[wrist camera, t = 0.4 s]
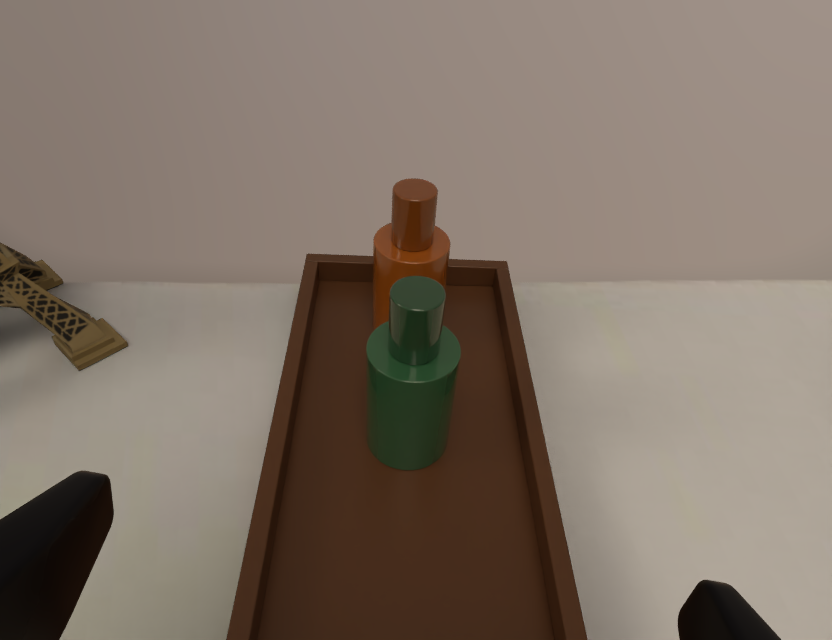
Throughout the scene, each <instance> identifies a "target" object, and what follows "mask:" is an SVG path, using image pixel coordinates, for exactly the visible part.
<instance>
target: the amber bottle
mask: <svg viewBox="0 0 832 640" xmlns="http://www.w3.org/2000/svg"><path fill="white" fill-rule="evenodd" d="M437 194H438V190H437V188H436V187H435V185H434V184H432V183H431V182H429V181H426V180H422V179H405V180H401V181H399V182H397V183H396V184H395V185H394V187H393V196H392V223H389V224H387V225H385V226H383V227H382V228H381V229H379V230H378V231H377V233H376V234H375V236H374V247H373V330H375V329H376V328H377V327H378V326H380V325H381V324H383V323H385V322H387V321H389V294H390V289H391V287H392V285H393V284H394V283H395V282H396V281H397V280H399V279H401V278H404V277H407V276H425V277H429V278H431V279H434V280H436V281H437V282H439V283H440V284H441V285H442V286H443V288H444V290H445V288H446V279H447V270H448V262H449V252H450V240H449V238H448V236H447V234H446V233H445V232H444V231H443V230H441V229H440V228H438V227H437V226H435V217H436V205H437Z"/></svg>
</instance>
